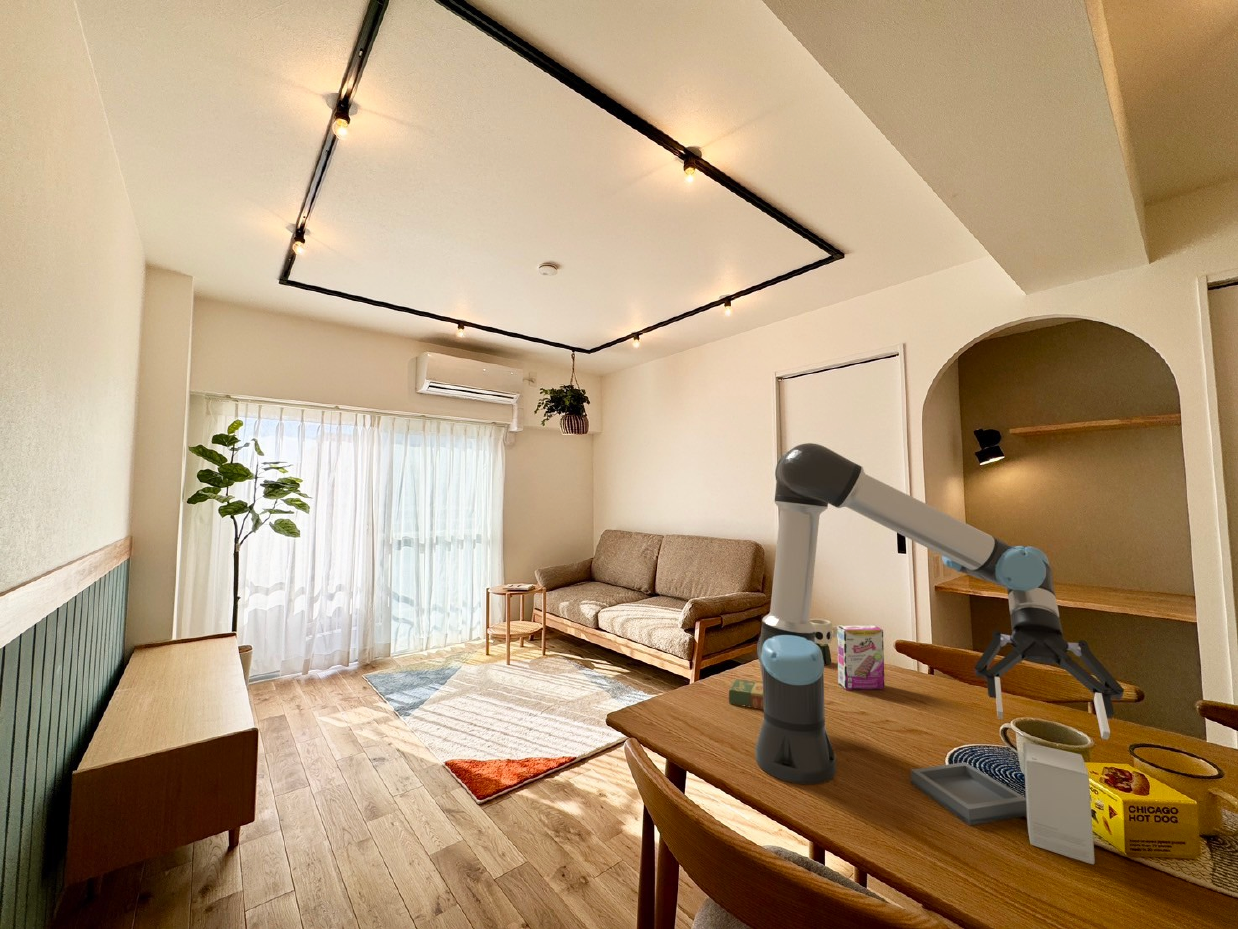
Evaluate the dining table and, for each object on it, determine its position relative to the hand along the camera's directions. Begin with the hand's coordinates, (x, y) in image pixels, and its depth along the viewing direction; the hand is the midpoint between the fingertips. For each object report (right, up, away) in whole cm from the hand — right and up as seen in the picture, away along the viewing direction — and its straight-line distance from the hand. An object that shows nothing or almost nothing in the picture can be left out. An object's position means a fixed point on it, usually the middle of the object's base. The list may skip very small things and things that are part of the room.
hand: (1050, 725), depth 84 cm
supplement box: (-6, -14, -8) cm, 17 cm away
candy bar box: (-6, -18, +54) cm, 57 cm away
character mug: (-9, -19, +74) cm, 77 cm away
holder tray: (-12, -14, +3) cm, 19 cm away
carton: (-36, -18, +44) cm, 59 cm away
